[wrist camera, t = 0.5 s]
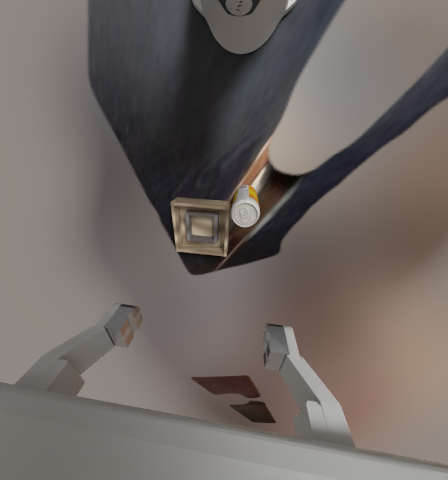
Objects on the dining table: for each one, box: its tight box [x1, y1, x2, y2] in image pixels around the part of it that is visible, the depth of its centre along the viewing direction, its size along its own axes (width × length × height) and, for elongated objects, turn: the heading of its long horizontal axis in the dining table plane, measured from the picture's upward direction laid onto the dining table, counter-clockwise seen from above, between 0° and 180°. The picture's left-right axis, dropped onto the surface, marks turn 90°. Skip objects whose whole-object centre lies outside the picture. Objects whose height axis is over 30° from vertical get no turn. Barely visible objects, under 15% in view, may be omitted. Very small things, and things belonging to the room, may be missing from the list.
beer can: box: [231, 185, 260, 227], centre depth 41 cm, size 6×6×15 cm
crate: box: [171, 197, 231, 256], centre depth 51 cm, size 16×16×5 cm
